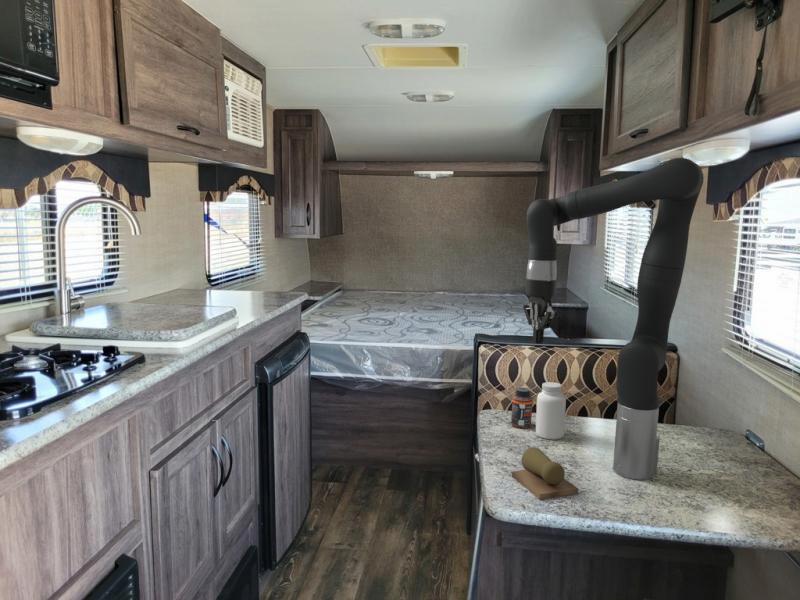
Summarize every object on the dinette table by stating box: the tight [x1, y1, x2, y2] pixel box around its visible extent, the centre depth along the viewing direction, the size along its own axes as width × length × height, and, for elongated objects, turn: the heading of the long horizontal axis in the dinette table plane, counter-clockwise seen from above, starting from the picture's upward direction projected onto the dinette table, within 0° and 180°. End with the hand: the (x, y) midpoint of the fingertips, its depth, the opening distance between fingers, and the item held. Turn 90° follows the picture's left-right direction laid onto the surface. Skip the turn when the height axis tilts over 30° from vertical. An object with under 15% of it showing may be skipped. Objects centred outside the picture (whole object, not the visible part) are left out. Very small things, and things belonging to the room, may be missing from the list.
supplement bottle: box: [510, 386, 534, 429], centre depth 170 cm, size 6×6×11 cm
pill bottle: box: [535, 381, 567, 441], centre depth 163 cm, size 8×8×15 cm
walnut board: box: [511, 469, 579, 500], centre depth 133 cm, size 10×12×1 cm
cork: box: [521, 446, 565, 485], centre depth 134 cm, size 6×6×11 cm
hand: (537, 343), depth 150 cm, fingers closed
